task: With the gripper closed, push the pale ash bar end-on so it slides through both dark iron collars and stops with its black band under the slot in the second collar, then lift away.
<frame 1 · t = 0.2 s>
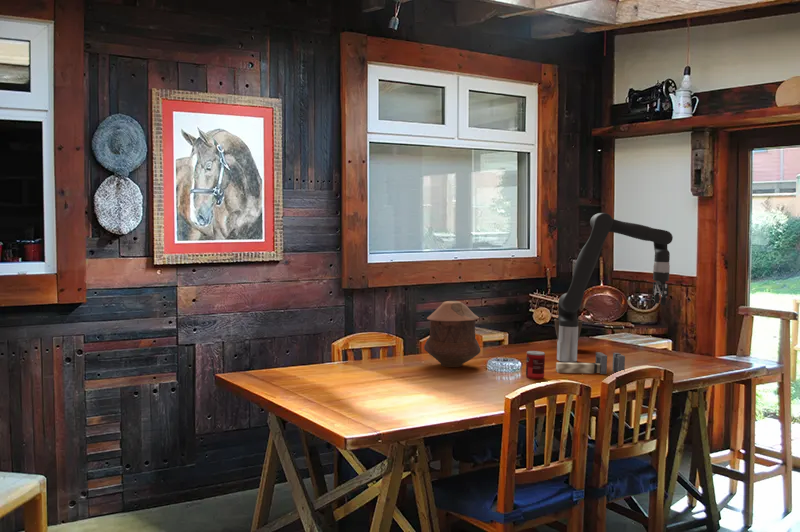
hand: (659, 304, 380), 29 cm above the table, tool pointing down, fingers open, 8 cm apart
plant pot: (567, 349, 418), on the table
pottery vessel: (451, 366, 357), on the table
ash bar: (578, 372, 350), on the table
iron collars: (609, 372, 351), on the table
canned food: (534, 378, 335), on the table
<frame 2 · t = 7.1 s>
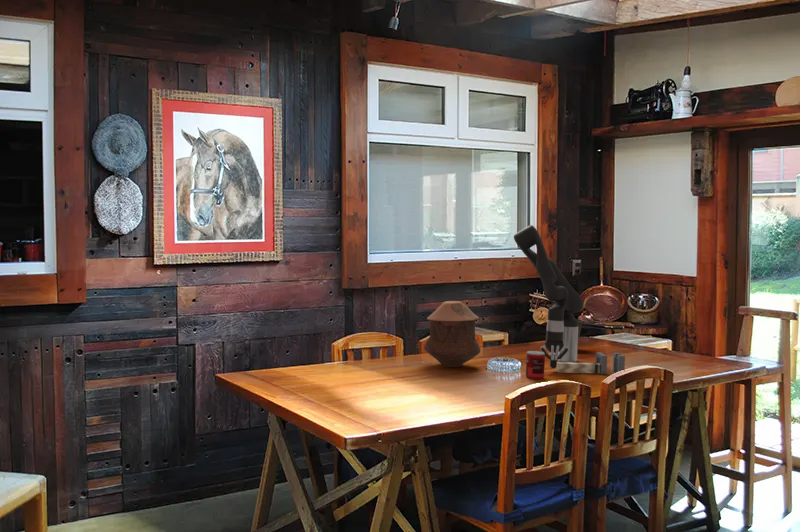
hand: (553, 368, 350), 2 cm above the table, tool pointing down, fingers closed
ash bar: (579, 372, 350), on the table, touching gripper
everything else where it was.
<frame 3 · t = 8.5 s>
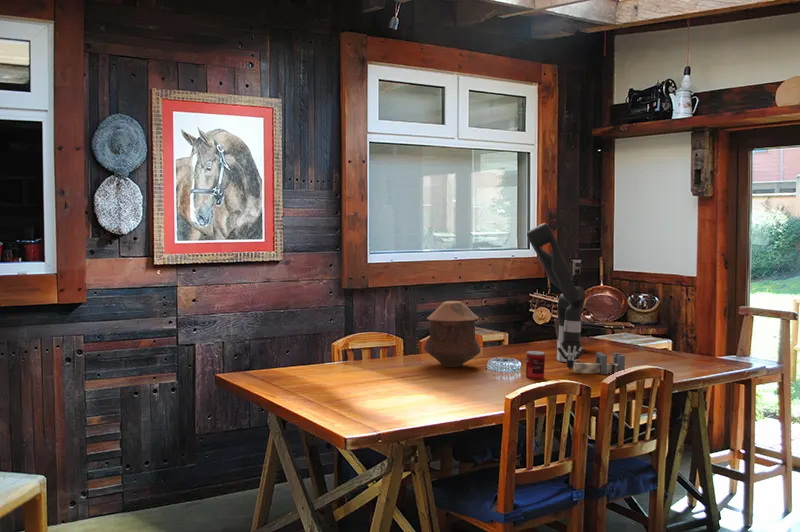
hand: (569, 368, 350), 2 cm above the table, tool pointing down, fingers closed
ash bar: (596, 372, 350), on the table, touching gripper
everything else where it was.
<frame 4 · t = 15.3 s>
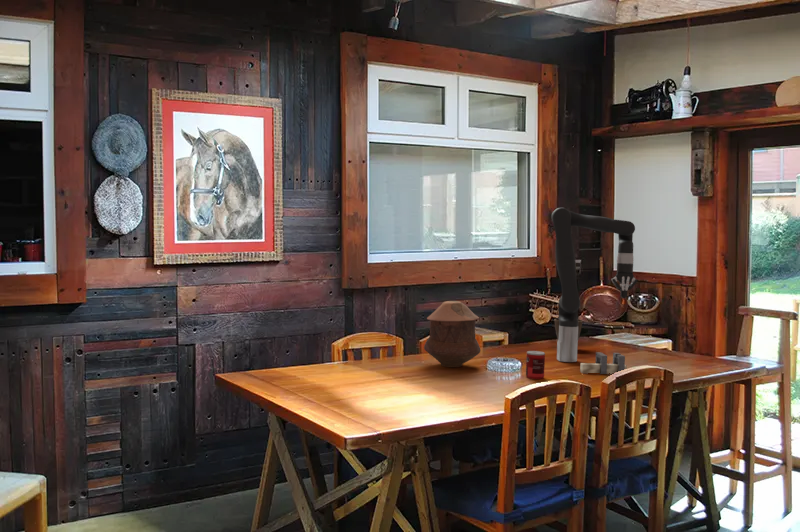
hand: (623, 298, 375), 32 cm above the table, tool pointing down, fingers closed
ash bar: (603, 373, 350), on the table
everything else where it was.
at the end: ash bar 0.5 cm from the target spot on the iron collars, point 0.0 cm above the iron collars's base; ash bar moved 11.0 cm from its start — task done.
